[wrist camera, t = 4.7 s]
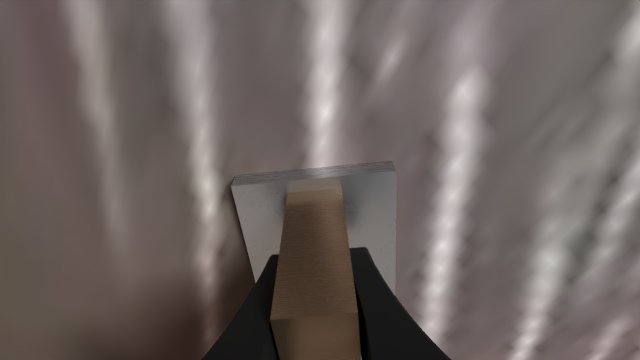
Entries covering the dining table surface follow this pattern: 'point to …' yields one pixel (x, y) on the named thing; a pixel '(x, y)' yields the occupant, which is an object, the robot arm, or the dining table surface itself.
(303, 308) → the trowel
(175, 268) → the dining table surface
